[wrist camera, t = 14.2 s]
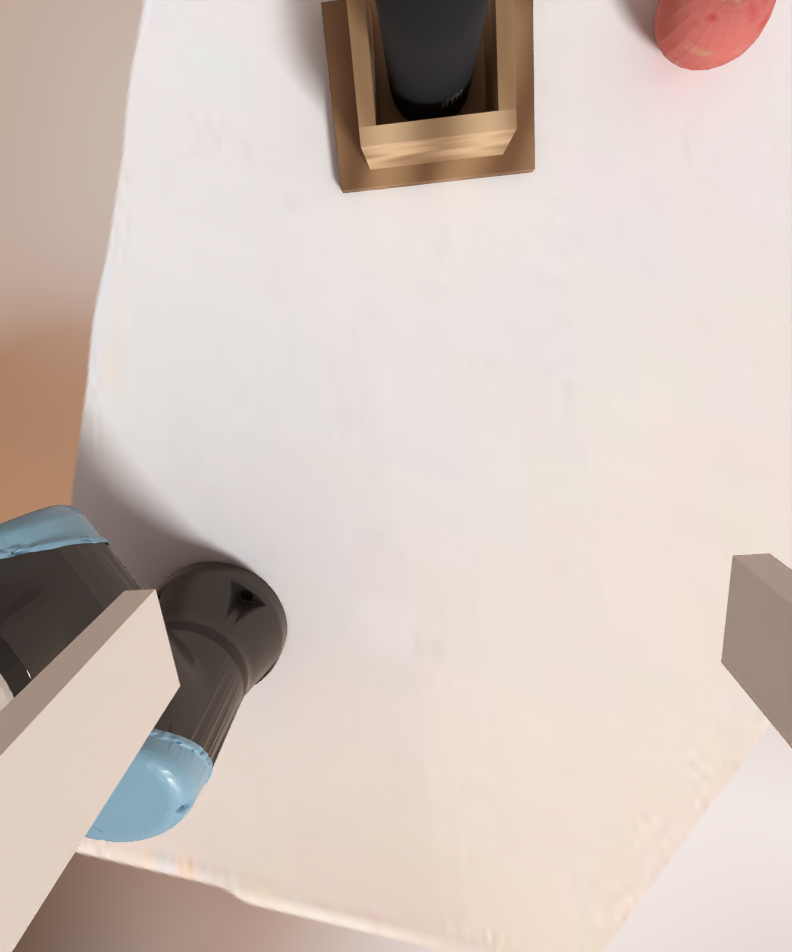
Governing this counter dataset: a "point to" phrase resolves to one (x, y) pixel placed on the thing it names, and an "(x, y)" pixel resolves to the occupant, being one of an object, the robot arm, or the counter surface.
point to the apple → (708, 30)
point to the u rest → (440, 139)
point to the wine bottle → (430, 53)
